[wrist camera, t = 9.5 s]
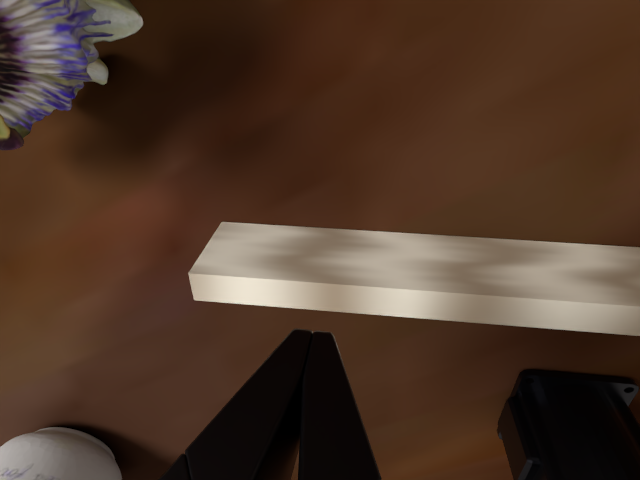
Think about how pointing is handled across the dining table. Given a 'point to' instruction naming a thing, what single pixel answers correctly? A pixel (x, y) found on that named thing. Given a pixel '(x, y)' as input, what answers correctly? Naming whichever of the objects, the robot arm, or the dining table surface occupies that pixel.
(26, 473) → the teacup
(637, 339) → the dining table surface
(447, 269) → the pale wooden open frame
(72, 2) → the passion flower
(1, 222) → the dining table surface
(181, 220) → the dining table surface
